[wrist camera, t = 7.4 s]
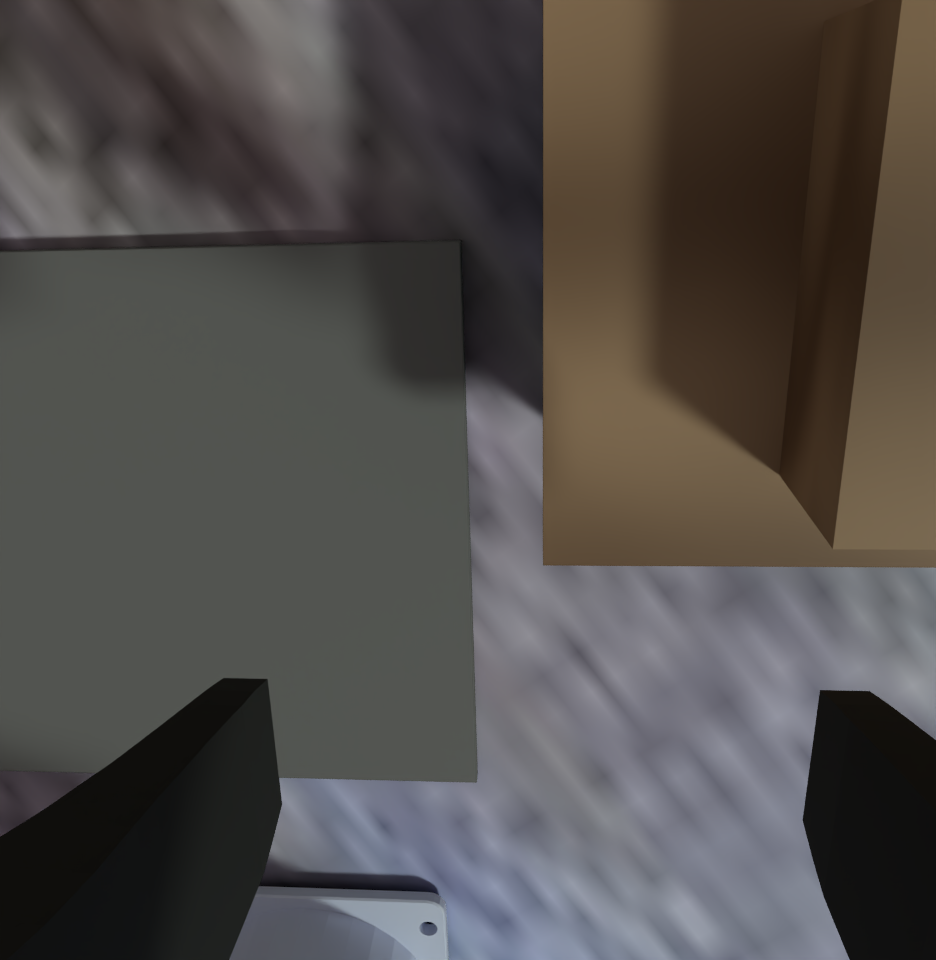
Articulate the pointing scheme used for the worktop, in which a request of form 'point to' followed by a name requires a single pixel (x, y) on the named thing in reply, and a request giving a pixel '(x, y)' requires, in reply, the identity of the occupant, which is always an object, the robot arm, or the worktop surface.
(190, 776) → the robot arm
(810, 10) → the lid
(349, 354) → the mat
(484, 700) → the worktop surface
